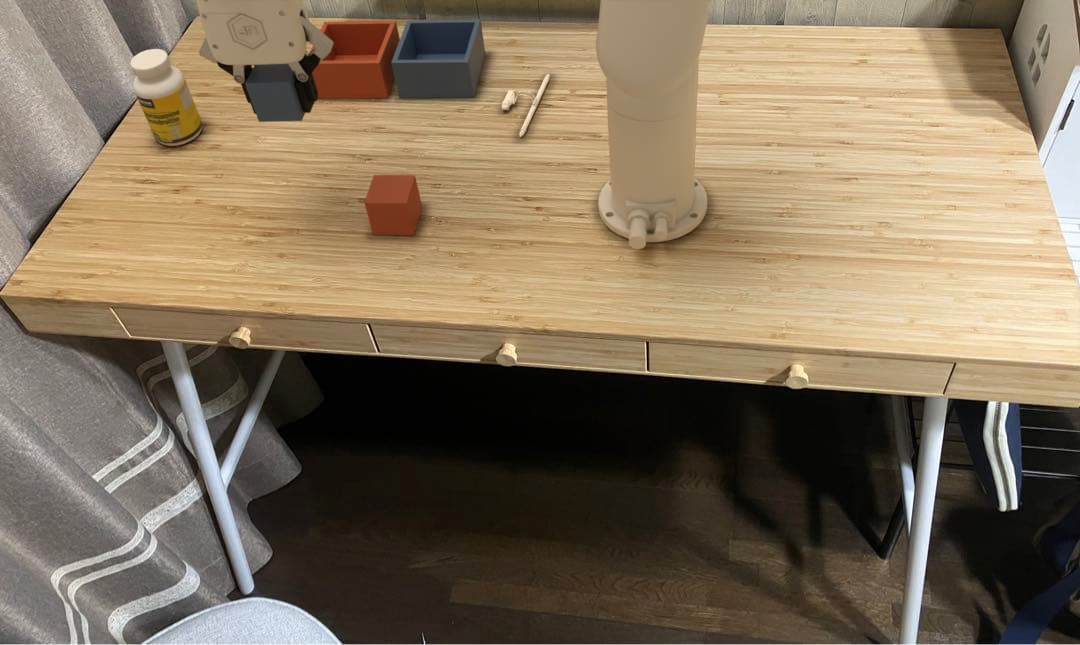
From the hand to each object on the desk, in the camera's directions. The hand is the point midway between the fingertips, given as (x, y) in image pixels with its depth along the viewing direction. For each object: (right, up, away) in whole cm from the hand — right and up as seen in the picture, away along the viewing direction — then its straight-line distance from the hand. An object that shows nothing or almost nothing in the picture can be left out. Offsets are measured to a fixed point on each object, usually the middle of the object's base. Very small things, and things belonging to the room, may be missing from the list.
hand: (285, 104), depth 113 cm
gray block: (0, 0, 0) cm, 0 cm away
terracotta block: (+12, -12, +8) cm, 18 cm away
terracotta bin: (+3, +10, +29) cm, 31 cm away
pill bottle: (-20, +1, +24) cm, 31 cm away
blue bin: (+15, +10, +27) cm, 33 cm away
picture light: (+26, +4, +21) cm, 34 cm away
